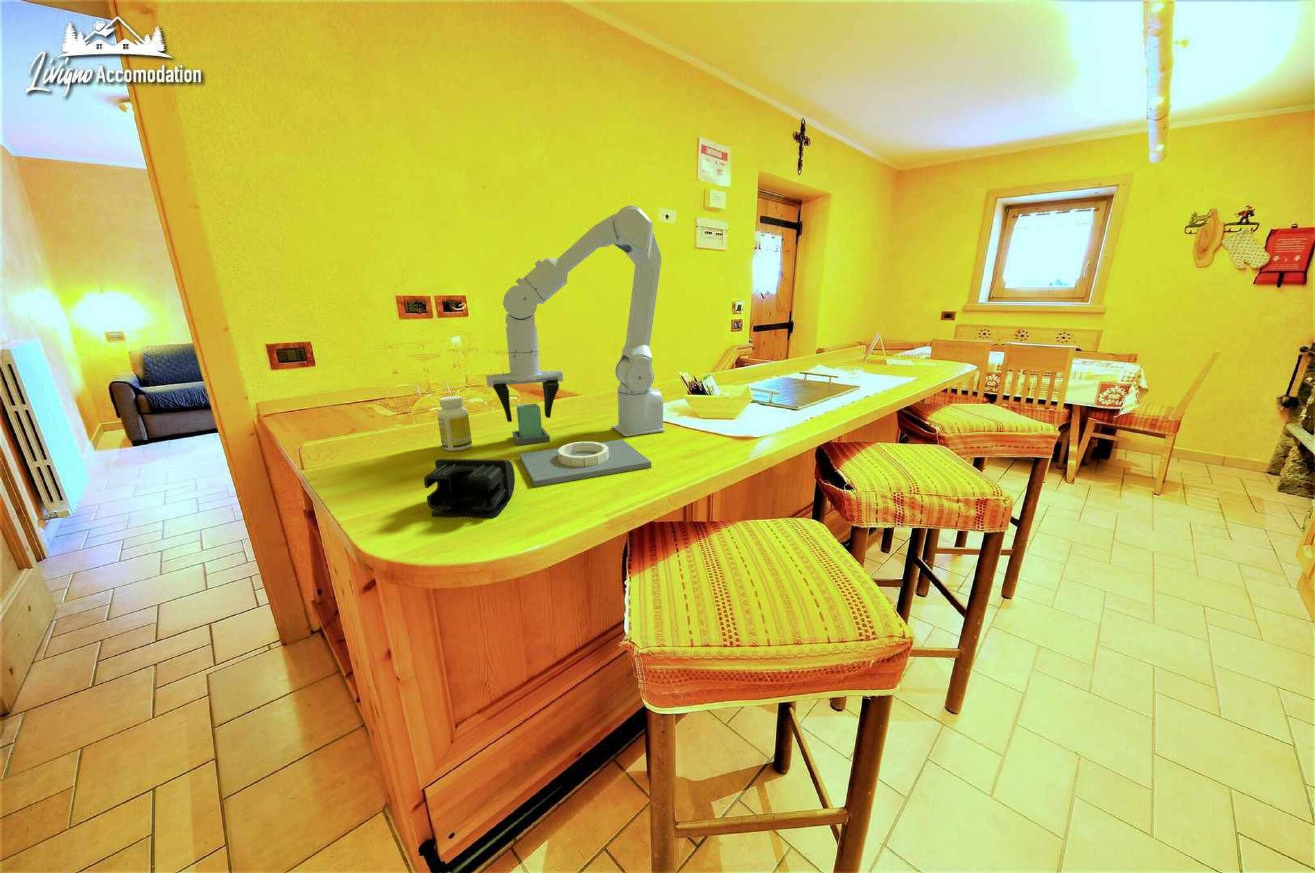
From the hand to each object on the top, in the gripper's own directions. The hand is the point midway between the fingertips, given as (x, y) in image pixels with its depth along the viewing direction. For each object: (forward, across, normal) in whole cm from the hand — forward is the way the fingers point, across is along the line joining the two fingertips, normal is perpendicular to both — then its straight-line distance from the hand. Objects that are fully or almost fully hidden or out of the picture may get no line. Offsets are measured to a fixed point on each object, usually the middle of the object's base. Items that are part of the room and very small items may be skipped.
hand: (528, 418), depth 93 cm
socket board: (+4, -6, +18) cm, 20 cm away
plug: (+4, 0, 0) cm, 5 cm away
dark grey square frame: (+4, 0, 0) cm, 4 cm away
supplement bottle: (+5, +14, -1) cm, 15 cm away
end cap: (+5, +13, +28) cm, 31 cm away
